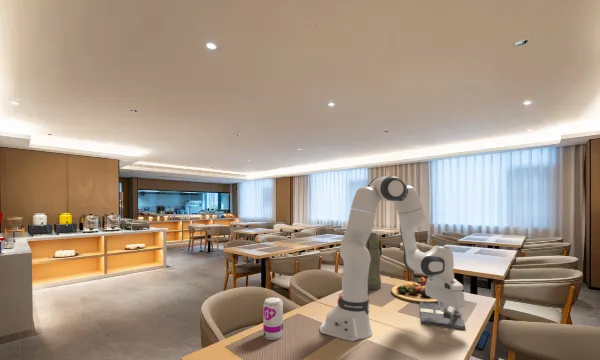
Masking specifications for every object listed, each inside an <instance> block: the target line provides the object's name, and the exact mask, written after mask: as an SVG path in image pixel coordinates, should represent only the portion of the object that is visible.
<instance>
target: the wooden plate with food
mask: <svg viewBox="0 0 600 360" xmlns="http://www.w3.org/2000/svg"><path fill="white" fill-rule="evenodd" d="M426 282H427V279H426V278H425V277H419V278H417V280H416V282H413V281H409V282H407V283H402V284H397V285H395V286H393V287H392V288H391V290H390V291H391V292H390V293H391V294H392V296H394V298H396V299H398V300H402V301H405V302H409V303H413V304H419V305H420V302H427V303H436V304H438V300H436V299H434V298H431V297H429V296H427V295H426V293H425V287H426Z"/></svg>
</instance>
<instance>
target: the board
mask: <svg viewBox="0 0 600 360" xmlns="http://www.w3.org/2000/svg"><path fill="white" fill-rule="evenodd" d="M419 312H420V314H419V315H420V323H421V325H425V326H433V327H440V328H447V329H448V328H449V329H454V330H455V329H456V330H461V331H466V325H465V322H464V320H463V317H462V315H463V313H462V312H461V311H460V309H456V310H455V312H454V313H453V315H452V318H451V319H448V318H444V314H443V313H444V312H442V311H440V306H439V304H436V303H427V302H420V304H419Z"/></svg>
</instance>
